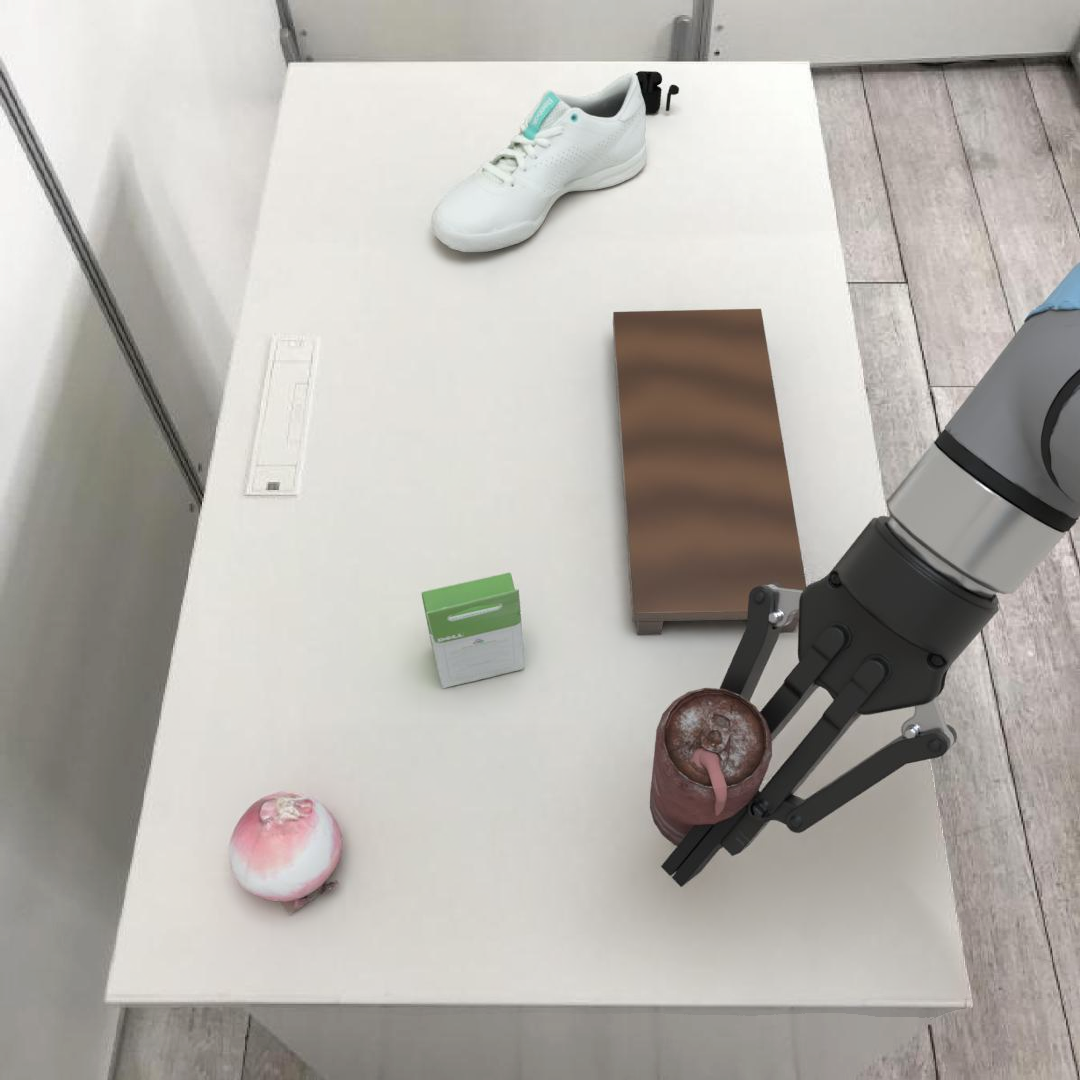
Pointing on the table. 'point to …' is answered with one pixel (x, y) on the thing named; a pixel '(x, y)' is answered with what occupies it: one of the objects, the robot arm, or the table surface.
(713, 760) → the can
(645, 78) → the wireless earbuds
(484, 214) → the running shoe
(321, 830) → the onion
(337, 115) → the table surface
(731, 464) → the shelf
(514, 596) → the ink box
